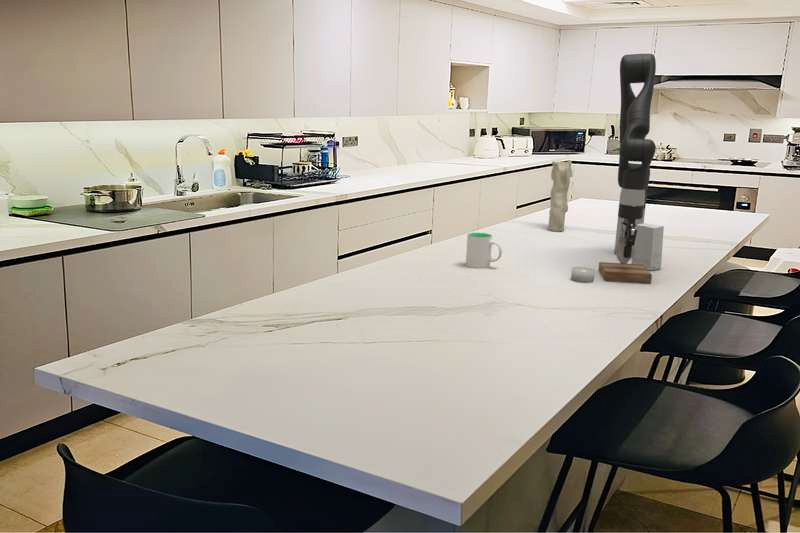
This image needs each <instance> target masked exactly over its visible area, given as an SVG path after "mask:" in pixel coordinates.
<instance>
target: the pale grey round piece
mask: <svg viewBox="0 0 800 533" xmlns="http://www.w3.org/2000/svg"><path fill="white" fill-rule="evenodd" d="M595 272H596V271H595V269H593V268H591V267H585V266H574V267H572V268H571V272H570V273H571V275H570V280H571V281H573V282H576V283H583V284H586V283H587V284H590V283H593V282H594V281H595Z"/></svg>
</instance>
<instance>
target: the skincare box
mask: <svg viewBox="0 0 800 533" xmlns="http://www.w3.org/2000/svg"><path fill="white" fill-rule="evenodd" d="M636 225H637V234H636V239H635V248H636V252H635V254H634V256H633V257H632V258H631V264H643V266H644V267H645V268H646V269H647V270H648V271H655V270H656V271H657V270H661V269H662V259H663V258H662V255H663V244H664V243H663V241H664V227H665V226H664V225H657V224H651V223H643V224H636Z"/></svg>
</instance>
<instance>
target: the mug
mask: <svg viewBox="0 0 800 533" xmlns="http://www.w3.org/2000/svg"><path fill="white" fill-rule="evenodd" d="M466 238H467V239H466V254H465V266H466V267H468V268H473V269H488V268H490V266H491V263H493V262H494V263H495V262H498V261H499V260H500V259H501V257H502V253H503V249H502V245H501V244H500V242H498V241H495V240H493V239H492V238H493V235H492V234H491V233H484V232H469V233H468V232H467V237H466ZM492 245H496V246H497V247H498V256H497V258H495V259H494V258H493V257H492Z"/></svg>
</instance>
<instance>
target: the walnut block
mask: <svg viewBox="0 0 800 533" xmlns="http://www.w3.org/2000/svg"><path fill="white" fill-rule="evenodd" d="M597 271H598V273H599V275H600V276H601V278H602V279H603V280H604V282H612V283H614V282H615V283H630V284H645V285H649V284H650V285H651V284H652V276H653V274H652V273H651V272H650V270H647V269H646V268H645V267H644V266H643V264H632V263H627V264H621V263H620V262H605V261H599V262H598V270H597Z"/></svg>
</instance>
